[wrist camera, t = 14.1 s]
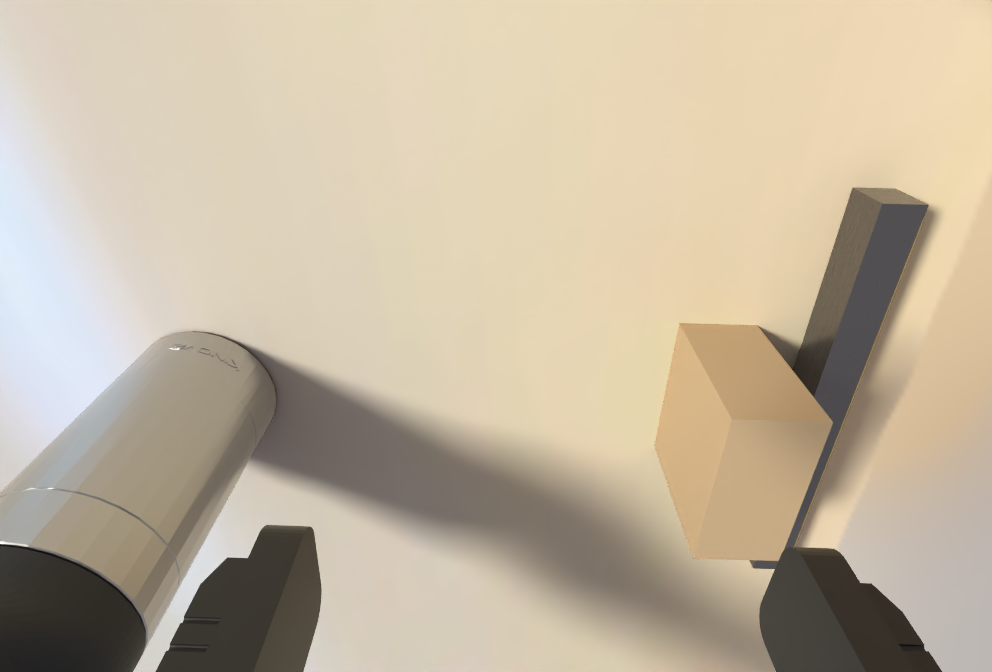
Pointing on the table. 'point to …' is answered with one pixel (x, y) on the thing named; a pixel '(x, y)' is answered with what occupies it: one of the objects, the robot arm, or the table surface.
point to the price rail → (852, 311)
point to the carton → (737, 441)
